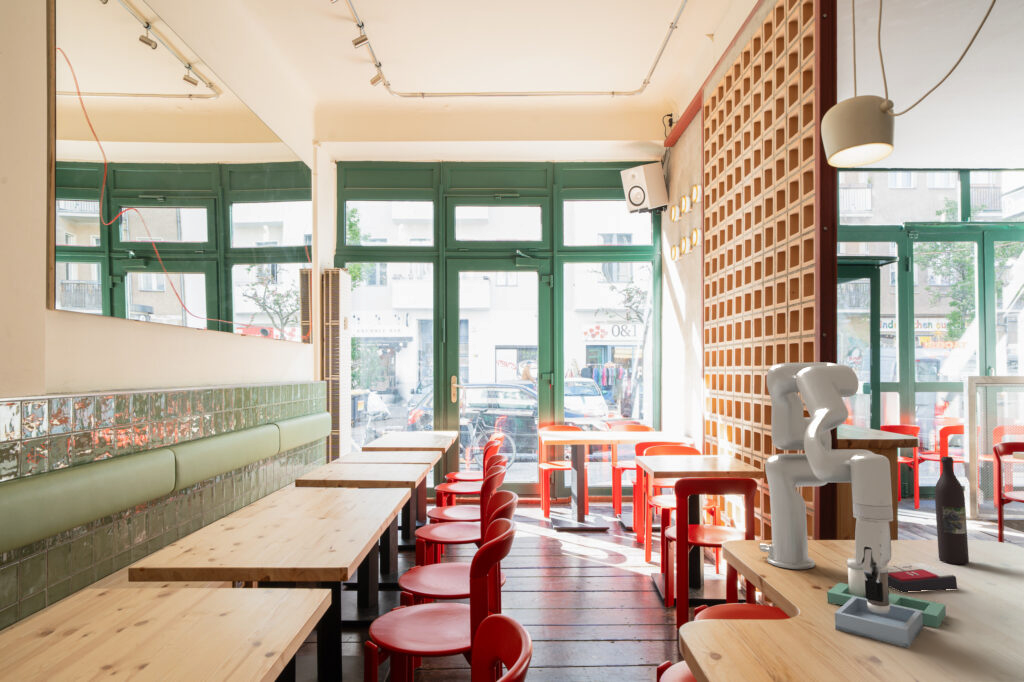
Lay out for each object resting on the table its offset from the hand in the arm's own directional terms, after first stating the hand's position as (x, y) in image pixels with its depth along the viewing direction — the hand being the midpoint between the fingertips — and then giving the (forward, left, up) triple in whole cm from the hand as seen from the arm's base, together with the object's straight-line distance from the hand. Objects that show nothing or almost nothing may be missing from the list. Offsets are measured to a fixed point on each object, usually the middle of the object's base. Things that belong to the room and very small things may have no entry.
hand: (877, 596), depth 130 cm
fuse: (-8, +13, -7) cm, 17 cm away
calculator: (-1, +37, -7) cm, 38 cm away
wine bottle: (+3, +66, -7) cm, 67 cm away
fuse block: (-2, +13, -7) cm, 15 cm away
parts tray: (0, 0, -7) cm, 7 cm away
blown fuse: (0, 0, -3) cm, 3 cm away
